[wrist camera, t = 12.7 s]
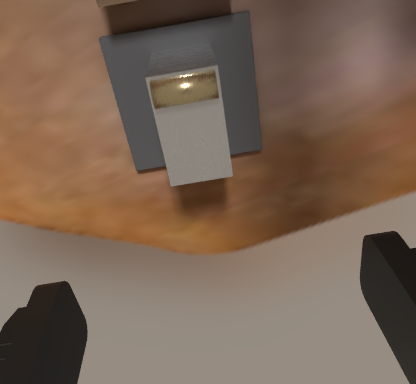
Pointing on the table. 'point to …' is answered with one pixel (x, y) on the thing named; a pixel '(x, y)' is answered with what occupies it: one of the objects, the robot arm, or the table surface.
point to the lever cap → (189, 114)
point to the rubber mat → (175, 39)
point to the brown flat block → (111, 2)
